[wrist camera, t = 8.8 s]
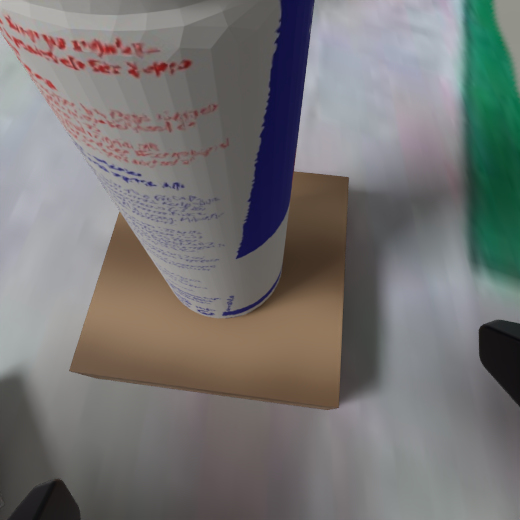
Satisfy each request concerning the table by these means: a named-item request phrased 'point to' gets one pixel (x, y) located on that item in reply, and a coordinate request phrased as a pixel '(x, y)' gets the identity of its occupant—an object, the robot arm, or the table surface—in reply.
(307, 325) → the stand
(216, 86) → the beverage can
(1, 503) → the gray rectangular block
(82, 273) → the table surface
